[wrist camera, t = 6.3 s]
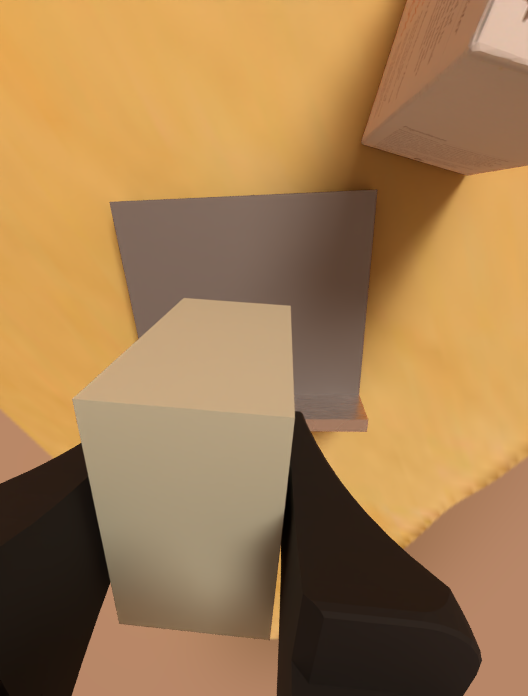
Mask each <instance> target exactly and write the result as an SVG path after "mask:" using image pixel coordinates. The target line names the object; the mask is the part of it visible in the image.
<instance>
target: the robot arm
mask: <svg viewBox="0 0 528 696" xmlns="http://www.w3.org/2000/svg"><path fill="white" fill-rule="evenodd" d="M109 585H110V577H109V572H108V567H107V563H106V558H105V553H104V548H103V543H102V539H101V534H100V529H99V524H98V520H97V515H96V510H95V505H94V500H93V496H92V491H91V486H90V481H89V477H88V472H87V467H86V462H85V457H84V453H83V448H82V443H80V444H79V445H77V446H75V447H74V448H72V449H70V450H69V451H67V452H65V453H63V454H61V455H59V456H58V457H56V458H54V459H52V460H50V461H48V462H46V463H44V464H42V465H40V466H38V467H36V468H34V469H32V470H30V471H28V472H26V473H23V474H21V475H19V476H17V477H14V478H12V479H10V480H8V481H6V482H3V483H1V484H0V696H72V692H73V689H74V686H75V683H76V680H77V677H78V674H79V670H80V668H81V664H82V661H83V658H84V655H85V652H86V650H87V646H88V644H89V641H90V638H91V635H92V632H93V629H94V626H95V623H96V621H97V618H98V615H99V612H100V609H101V607H102V604H103V601H104V598H105V596H106V593H107V590H108V587H109ZM278 651H279V652H278V677H277V696H463V695H464V693H465V692H466V690H467V689H468V687H469V686H470V684H471V682H472V681H473V680H474V678H475V676H476V675H477V672H478V670H479V667H480V664H481V661H482V659H481V653H480V649H479V647H478V644H477V642H476V639H475V637H474V635H473V633H472V630H471V628H470V626H469V624H468V622H467V620H466V618H465V616H464V614H463V612H462V610H461V608H460V606H459V604H458V603H457V601H456V599H455V597H454V595H453V593H452V591H451V589H450V588H449V587H448V586H446V585H445V584H444V583H443V582H442V581H440V580H439V579H438V578H437V577H435V576H434V575H433V574H432V573H430V572H429V571H428V570H427V569H425V568H424V567H423V566H422V565H421V564H420V563H418V562H417V561H416V560H415V559H413V558H412V557H411V556H410V555H409V554H408V553H407V552H405V551H404V550H403V549H402V548H401V547H400V546H399V545H398V544H397V543H396V542H395V541H394V540H392V539H391V538H390V537H389V536H388V535H387V534H386V533H385V532H384V531H383V530H382V528H381V527H380V526H379V525H378V524H377V523H376V522H375V521H374V520H373V519H372V518H371V517H370V516H369V515H368V514H367V513H366V512H365V511H364V509H363V508H362V507H361V506H360V505H359V504H358V502H357V501H356V500H355V499H354V498H353V496H352V495H351V494H350V493H349V491H348V490H347V489H346V488H345V486H344V485H343V484H342V482H341V481H340V479H339V478H338V477H337V475H336V474H335V472H334V471H333V469H332V468H331V466H330V465H329V463H328V462H327V460H326V459H325V457H324V455H323V453H322V452H321V450H320V448H319V447H318V445H317V443H316V441H315V439H314V437H313V435H312V433H311V431H310V429H309V427H308V425H307V423H306V420H305V418H304V415H303V414H302V412H300V411H295V421H294V430H293V439H292V448H291V456H290V465H289V474H288V483H287V492H286V501H285V509H284V518H283V527H282V536H281V587H280V619H279V649H278Z"/></svg>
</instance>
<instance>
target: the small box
mask: <svg viewBox="0 0 528 696" xmlns="http://www.w3.org/2000/svg"><path fill="white" fill-rule="evenodd" d="M361 143H362V144H363V145H366V146H370V147H374V148H377V149H380V150H384V151H387V152H390V153H394V154H397V155H400V156H404V157H407V158H410V159H414V160H417V161H420V162H423V163H427V164H430V165H433V166H437V167H440V168H444V169H447V170H451V171H454V172H457V173H461V174H464V175H473V174H479V173H485V172H491V171H497V170H503V169H509V168H514V167H521V166H526V165H528V0H407V2H406V5H405V8H404V11H403V15H402V18H401V21H400V24H399V27H398V30H397V33H396V36H395V39H394V42H393V45H392V49H391V52H390V55H389V58H388V61H387V64H386V67H385V70H384V73H383V76H382V79H381V83H380V86H379V89H378V92H377V95H376V98H375V101H374V104H373V107H372V110H371V113H370V116H369V120H368V123H367V126H366V129H365V131H364V134H363V137H362V140H361Z"/></svg>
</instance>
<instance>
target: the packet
mask: <svg viewBox="0 0 528 696" xmlns="http://www.w3.org/2000/svg"><path fill="white" fill-rule="evenodd" d="M72 400H73V405H74V410H75V414H76V419H77V424H78V429H79V433H80V438H81V443H82V448H83V453H84V457H85V462H86V467H87V472H88V477H89V481H90V486H91V491H92V496H93V500H94V505H95V510H96V515H97V520H98V524H99V529H100V534H101V539H102V543H103V548H104V553H105V558H106V563H107V567H108V572H109V577H110V582H111V586H112V591H113V596H114V601H115V606H116V610H117V615H118V620H119V623H120V624H126V625H135V626H144V627H155V628H163V629H172V630H181V631H191V632H199V633H209V634H218V635H228V636H236V637H246V638H254V639H264V640H270V633H271V624H272V615H273V606H274V598H275V589H276V580H277V571H278V562H279V553H280V545H281V536H282V527H283V518H284V509H285V501H286V492H287V483H288V474H289V465H290V456H291V448H292V439H293V430H294V421H295V408H294V381H293V355H292V328H291V306H287V305H274V304H260V303H246V302H232V301H218V300H205V299H191V298H183V299H182V300H181V301H180V302H179V303H178V304H177V305H176V306H175V307H173V308H172V309H171V310H170V311H169V312H168V313H167V314H166V315H165V316H163V317H162V318H161V319H160V320H159V321H158V322H157V323H156V324H155V325H154V326H152V327H151V328H150V329H149V330H148V331H147V332H146V333H145V334H144V335H142V336H141V337H140V338H139V339H138V340H137V341H136V342H135V343H134V344H132V345H131V346H130V347H129V348H128V349H127V350H126V351H125V352H124V353H123V354H121V355H120V356H119V357H118V358H117V359H116V360H115V361H114V362H113V363H111V364H110V365H109V366H108V367H107V368H106V369H105V370H104V371H103V372H102V373H100V374H99V375H98V376H97V377H96V378H95V379H94V380H93V381H92V382H90V383H89V384H88V385H87V386H86V387H85V388H84V389H83V390H82V391H80V392H79V393H78V394H77V395H76V396H75V397H74V398H73V399H72Z"/></svg>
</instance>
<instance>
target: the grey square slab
mask: <svg viewBox="0 0 528 696" xmlns="http://www.w3.org/2000/svg"><path fill="white" fill-rule="evenodd" d="M376 199H377V190H359V191H337V192H315V193H294V194H272V195H251V196H229V197H207V198H186V199H164V200H143V201H121V202H110V206H111V211H112V216H113V220H114V225H115V230H116V235H117V239H118V244H119V249H120V253H121V258H122V263H123V267H124V272H125V277H126V281H127V286H128V291H129V296H130V300H131V305H132V310H133V314H134V319H135V324H136V328H137V333H138V338H140V337H141V336H142V335H144V334H145V333H146V332H147V331H148V330H149V329H150V328H151V327H152V326H154V325H155V324H156V323H157V322H158V321H159V320H160V319H161V318H162V317H163V316H165V315H166V314H167V313H168V312H169V311H170V310H171V309H172V308H173V307H175V306H176V305H177V304H178V303H179V302H180V301H181V300H182V299H183V298H191V299H205V300H218V301H232V302H246V303H260V304H274V305H287V306H291V328H292V355H293V381H294V408H295V411H300V412H302V414H303V415H304V418H305V420H306V423H307V425H308V427H309V429H310V431H347V432H367V425H368V418H367V415H366V412H365V410H364V407H363V404H362V402H361V399H360V396H359V388H360V377H361V365H362V354H363V343H364V332H365V321H366V310H367V299H368V288H369V277H370V266H371V255H372V243H373V232H374V221H375V210H376Z"/></svg>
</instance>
